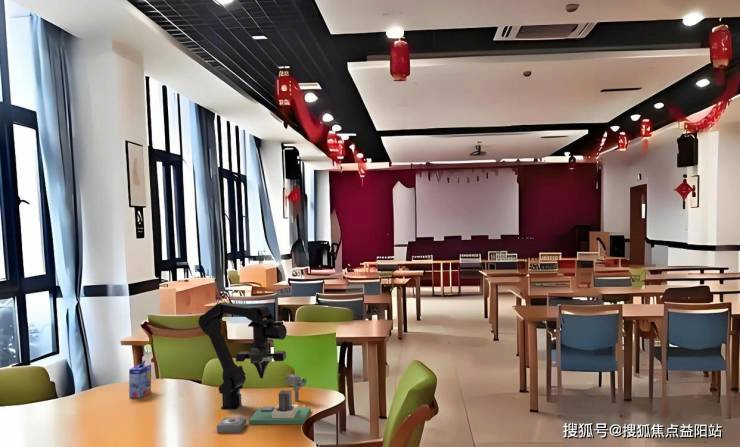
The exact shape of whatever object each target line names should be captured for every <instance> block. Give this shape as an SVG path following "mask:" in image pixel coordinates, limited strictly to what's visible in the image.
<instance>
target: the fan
mask: <svg viewBox="0 0 740 447" xmlns="http://www.w3.org/2000/svg"><path fill="white" fill-rule="evenodd" d="M246 425H247V417H243V416H241V417H239V416H238V417H234V416H233V417H228V416H227V417H226V416H225V417H224V418H222V419H221V420H220V421H219V423H218V424H217V425H216V433H217V434H219V433H220V434H221V433H223V434H224V433H227V434H228V433H229V434H231V433H232V434H233V433H235V434H236V433H241V431H242V430H243V429H244V428H245V427H246Z"/></svg>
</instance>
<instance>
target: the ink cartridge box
mask: <svg viewBox="0 0 740 447" xmlns="http://www.w3.org/2000/svg"><path fill="white" fill-rule="evenodd" d="M128 371H129V373H128V378H129V380H128V381H129V382H128V386H129V388H128V392H129V394H128V396H129V398H142V397H144V396H145V395H147V394H149V393H151V392H152V364H151V363H148V364H147V363H146V359H145V360H144V361H141V362H140V364H138V365H136V366H133V367H132V368H129V370H128Z"/></svg>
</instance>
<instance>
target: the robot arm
mask: <svg viewBox="0 0 740 447" xmlns="http://www.w3.org/2000/svg"><path fill="white" fill-rule="evenodd" d="M225 314H227V315H231V316H238V317H244V318H246V319H247V320H249V321H250V322H249V324H248V325H247V327H249V328H250V327H251V328H252V332H253V333H252V338H253V339H252V347H251V349H250V351H239V352H238V353H237V354H236V355H235V362H239V363H241V362H242V363H243V362H244V361H246V360H247V359H248V360H249V361H250V364H252V365H253V366H255V369H256V371H257V374H258V375H259V378H260V379H263V378H264V377H265V373H266V370H267V367H268V365H269V364H270V363H271V362H272V361H274V362H283V361H285V360H286V359H287V352H286V351H285V350H276V351H275V352H273V353H270V349H269V342H270V340H280V341H281V340H285V339H286V337H287V332H288V331H287V327H286V325H285V324H284V321H280V320H279V321H277V320H276V319H275V317H274V316H273V314H272V313H271V311H270V308H269V306H268V305H264V304H261V305H259V304H258V305H242V304H236V303H230V302H229V303H228V302H225V301H222V302H218V303H216V304H215V305H214V306H212V308H210V309H209V310H208V311H206V312H205V313H204V314H202V315H200V316H199V318H198V321H197V323H198V326H199V327H200V329H201V331H202V332H203V333H204V334H205V335H207V337H208V338H209V339H210V342H211V344H212V347H213V349H214V352H215V353H216V356H217V359H218V361H219V364H220V366H221V368H222V376H221V378H222V384H220V385H219V387H218V392H219V394H221V395H222V406H220V409H222V410H224V409H225V410H226V409H227V410H231V409H232V410H234V409H239V407H240V406H241V405H242V393H241V389H243V388H244V387H243V386H244V384H245V383H246V380H247V377H246V373H245V371H244V369H243V365H239V366H238V365H237V364H236V363H235V362H234V359H233V356H232V354H231V352H230V349H229V346H228V345H227V343H226V340H225V339H224V335H223V332H222V321H221V320H222V319H223V318H224V316H225Z"/></svg>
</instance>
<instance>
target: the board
mask: <svg viewBox="0 0 740 447" xmlns="http://www.w3.org/2000/svg"><path fill="white" fill-rule="evenodd" d="M310 413H311V407H309V406H308V407H307V406H306V407H304V406H303V407H302V406H299V404H292V411H287V412H281V411H279V404H277V405H276V407H275V406H273V405H265V406H262V407H258V408H257V410H256V411H255V412H254V413H253V414H252V416H251V417H250V418H249V419H248V425H304V424H305V422H306V420H307V418H308V417H309V415H310Z"/></svg>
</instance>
